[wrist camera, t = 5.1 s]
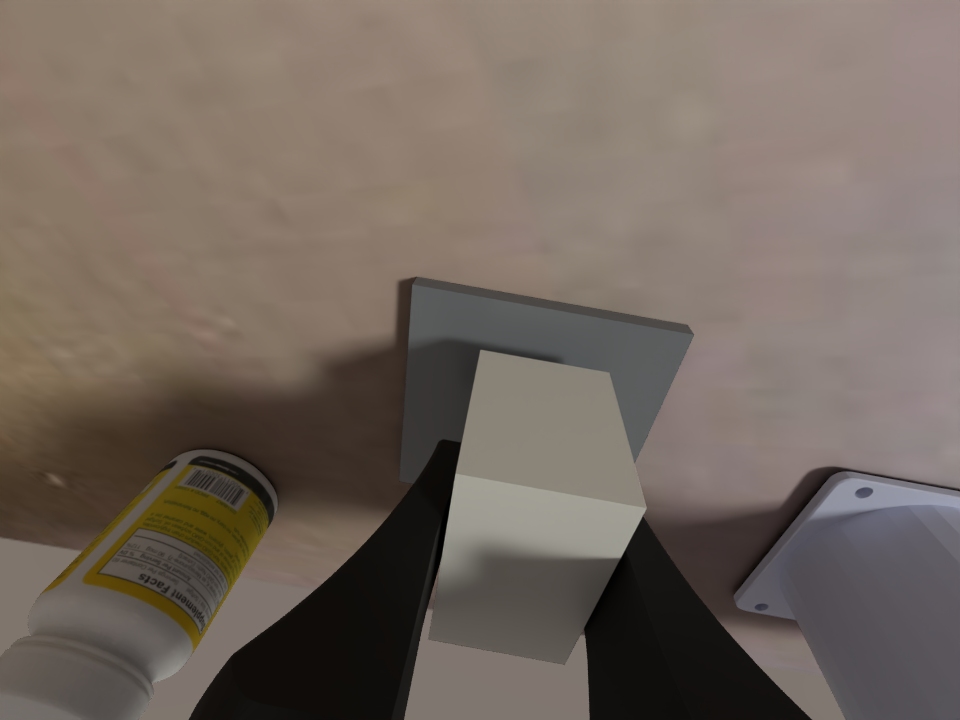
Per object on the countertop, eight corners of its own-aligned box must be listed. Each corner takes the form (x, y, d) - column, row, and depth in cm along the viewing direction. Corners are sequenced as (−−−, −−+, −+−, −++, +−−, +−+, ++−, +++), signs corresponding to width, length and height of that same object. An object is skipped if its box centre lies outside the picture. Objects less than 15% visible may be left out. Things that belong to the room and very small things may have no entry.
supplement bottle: (205, 525, 20) (27, 759, 13) (149, 449, 18) (-104, 683, 11) (299, 522, 19) (163, 770, 12) (253, 441, 17) (52, 691, 10)
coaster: (687, 325, 13) (694, 334, 12) (605, 507, 17) (608, 520, 16) (417, 276, 13) (412, 284, 12) (403, 469, 17) (398, 481, 17)
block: (609, 372, 12) (647, 508, 8) (543, 551, 16) (547, 697, 12) (480, 349, 12) (455, 474, 8) (448, 534, 16) (422, 673, 12)
